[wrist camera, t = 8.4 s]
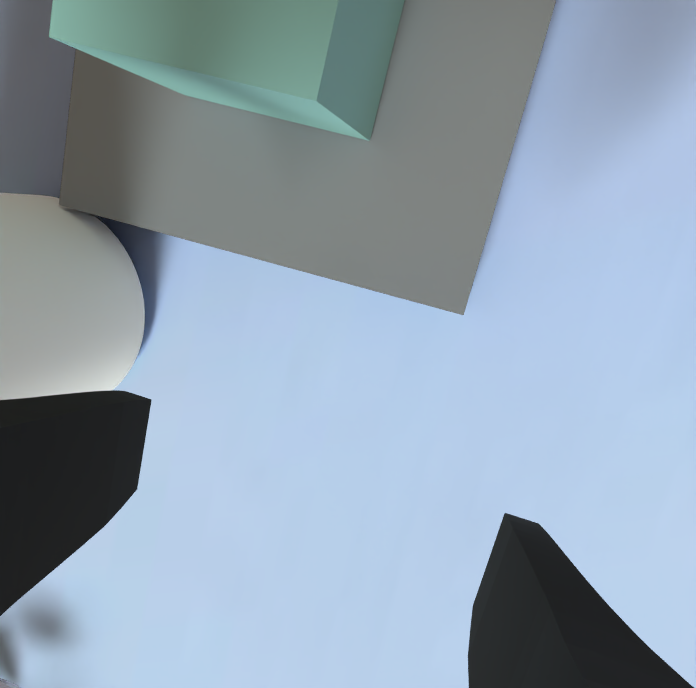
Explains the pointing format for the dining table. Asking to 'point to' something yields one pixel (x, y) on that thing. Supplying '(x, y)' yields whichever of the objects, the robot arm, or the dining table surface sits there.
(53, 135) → the dining table surface
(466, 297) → the slate base
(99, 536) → the dining table surface
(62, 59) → the dining table surface
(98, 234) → the beverage can
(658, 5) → the dining table surface
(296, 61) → the teal block
